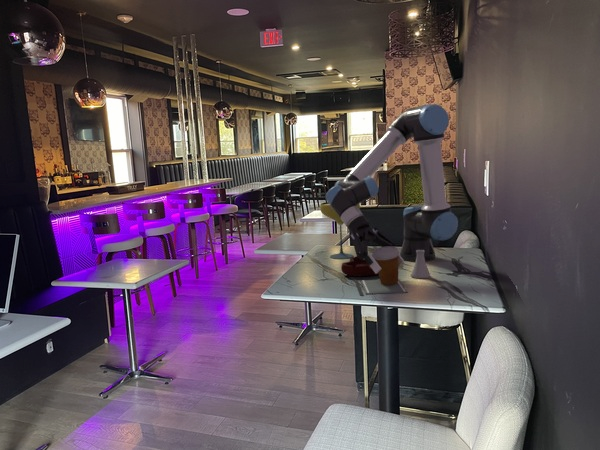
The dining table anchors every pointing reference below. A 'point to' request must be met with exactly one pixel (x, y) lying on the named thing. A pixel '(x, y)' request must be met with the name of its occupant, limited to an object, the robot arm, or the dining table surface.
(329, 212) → the cocktail glass
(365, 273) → the ashtray
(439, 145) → the robot arm
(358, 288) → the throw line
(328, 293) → the dining table surface
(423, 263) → the flask
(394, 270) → the disposable coffee cup
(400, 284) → the mat
